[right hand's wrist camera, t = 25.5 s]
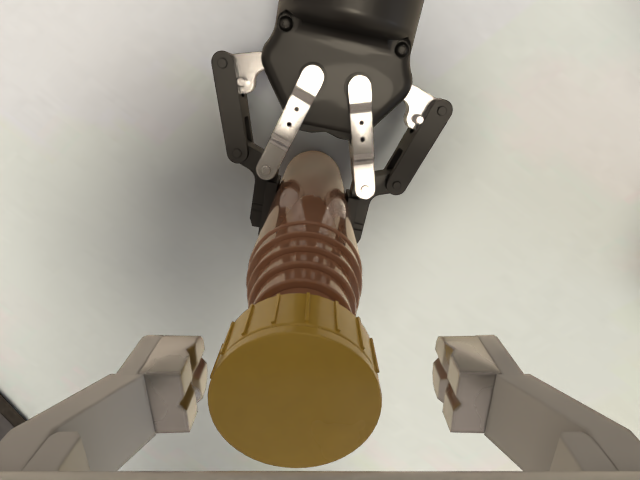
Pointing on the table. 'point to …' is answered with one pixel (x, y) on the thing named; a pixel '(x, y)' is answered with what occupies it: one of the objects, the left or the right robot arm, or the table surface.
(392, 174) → the left robot arm
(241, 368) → the cap
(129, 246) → the table surface
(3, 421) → the toy
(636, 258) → the table surface
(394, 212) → the table surface
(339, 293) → the bottle
